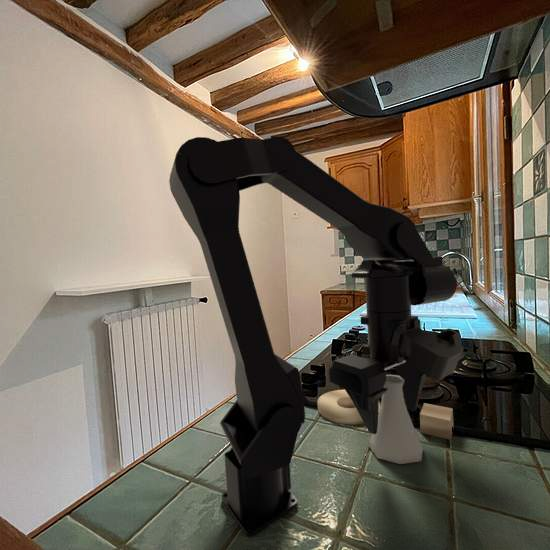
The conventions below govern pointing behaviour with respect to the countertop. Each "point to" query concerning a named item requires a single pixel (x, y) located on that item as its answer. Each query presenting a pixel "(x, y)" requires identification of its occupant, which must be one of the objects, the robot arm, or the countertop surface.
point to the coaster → (339, 408)
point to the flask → (395, 427)
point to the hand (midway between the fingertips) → (393, 420)
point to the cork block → (436, 421)
